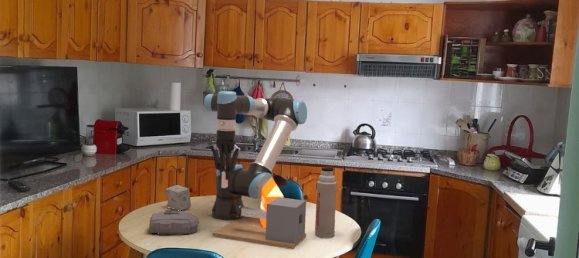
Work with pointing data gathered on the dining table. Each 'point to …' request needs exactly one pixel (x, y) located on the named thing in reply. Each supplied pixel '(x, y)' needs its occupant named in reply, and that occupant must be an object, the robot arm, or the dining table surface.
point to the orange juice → (269, 196)
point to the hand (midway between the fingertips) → (224, 187)
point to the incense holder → (178, 197)
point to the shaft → (250, 212)
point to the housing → (272, 225)
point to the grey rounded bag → (173, 222)
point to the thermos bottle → (325, 204)
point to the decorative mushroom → (279, 180)
